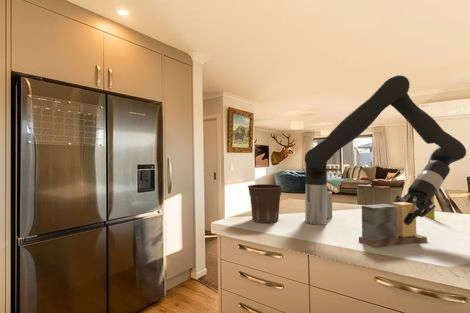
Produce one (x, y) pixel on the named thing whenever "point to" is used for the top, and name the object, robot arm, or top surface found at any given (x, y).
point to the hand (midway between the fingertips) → (399, 221)
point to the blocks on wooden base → (383, 227)
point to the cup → (329, 204)
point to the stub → (402, 213)
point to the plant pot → (265, 202)
